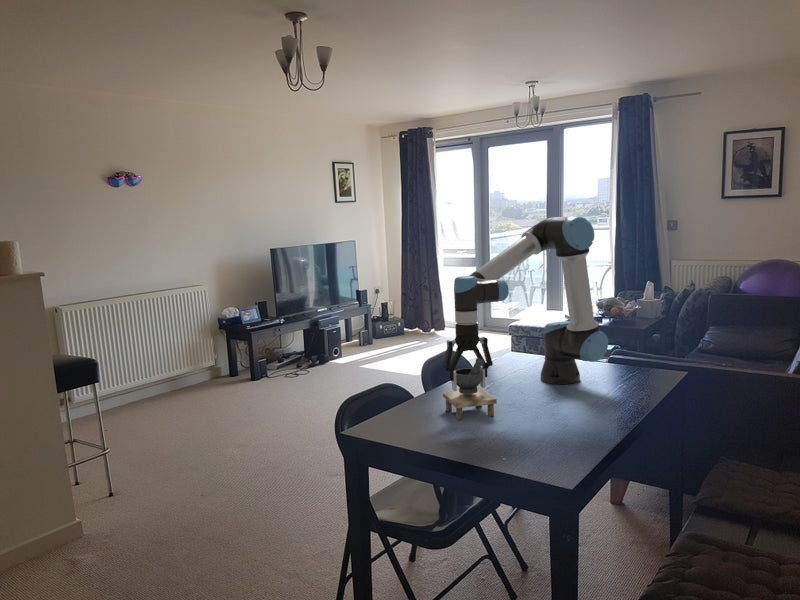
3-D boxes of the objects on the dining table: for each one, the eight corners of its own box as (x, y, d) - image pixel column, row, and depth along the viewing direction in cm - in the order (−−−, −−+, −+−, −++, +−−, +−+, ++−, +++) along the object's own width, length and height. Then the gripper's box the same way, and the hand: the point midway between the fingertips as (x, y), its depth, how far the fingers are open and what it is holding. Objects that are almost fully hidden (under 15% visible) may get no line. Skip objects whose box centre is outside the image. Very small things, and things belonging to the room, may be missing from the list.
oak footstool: (481, 404, 210) (480, 388, 209) (496, 416, 197) (496, 399, 196) (443, 409, 207) (442, 392, 206) (456, 421, 194) (456, 404, 193)
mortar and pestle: (448, 392, 201) (446, 358, 199) (463, 386, 208) (462, 352, 207) (476, 397, 194) (475, 362, 192) (491, 390, 201) (490, 355, 199)
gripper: (493, 318, 204) (494, 382, 207) (431, 324, 199) (434, 389, 202) (502, 321, 197) (503, 387, 200) (438, 327, 192) (440, 395, 195)
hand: (468, 388), depth 201 cm, fingers closed on mortar and pestle, 9 cm apart
